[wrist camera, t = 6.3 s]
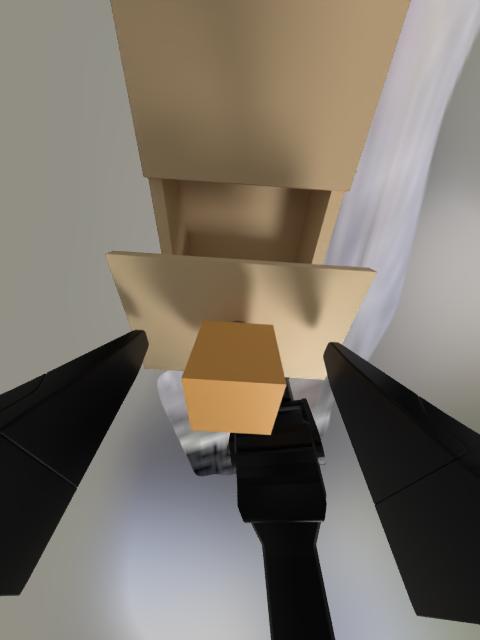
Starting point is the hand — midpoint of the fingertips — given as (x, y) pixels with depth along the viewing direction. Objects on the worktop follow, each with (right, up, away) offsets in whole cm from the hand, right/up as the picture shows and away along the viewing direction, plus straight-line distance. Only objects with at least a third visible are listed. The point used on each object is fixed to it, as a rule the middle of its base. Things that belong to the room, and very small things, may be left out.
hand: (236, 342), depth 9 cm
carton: (+1, +12, +6) cm, 14 cm away
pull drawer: (0, +1, +1) cm, 2 cm away
